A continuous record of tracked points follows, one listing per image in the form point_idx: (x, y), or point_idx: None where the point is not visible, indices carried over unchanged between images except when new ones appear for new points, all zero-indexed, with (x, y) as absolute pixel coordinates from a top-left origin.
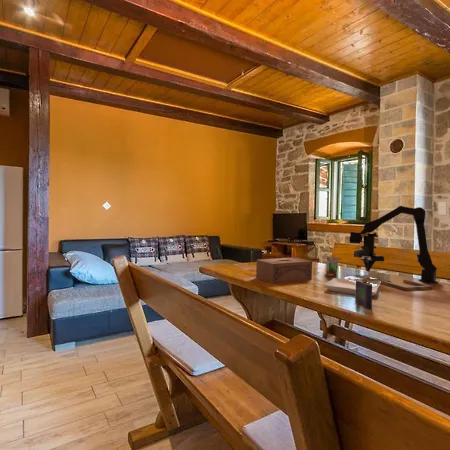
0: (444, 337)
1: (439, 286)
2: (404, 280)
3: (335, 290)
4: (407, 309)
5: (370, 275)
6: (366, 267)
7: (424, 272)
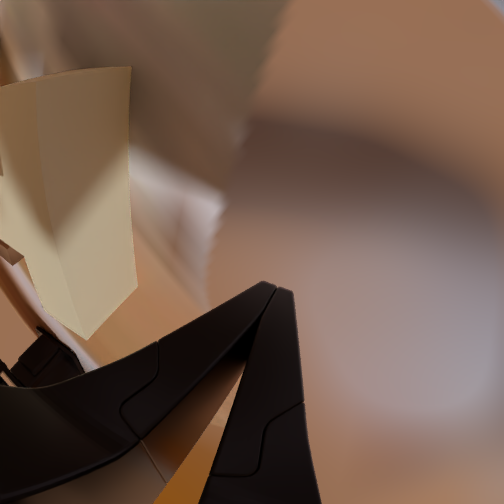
0: None
1: (5, 290)
2: (6, 244)
3: None
4: None
5: (65, 73)
6: (254, 342)
7: (23, 370)
